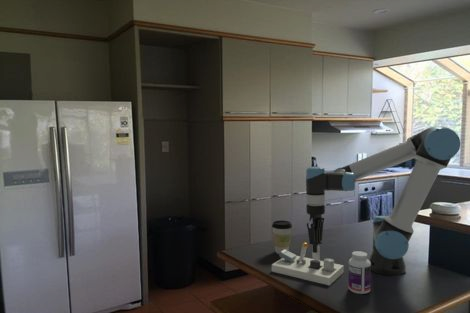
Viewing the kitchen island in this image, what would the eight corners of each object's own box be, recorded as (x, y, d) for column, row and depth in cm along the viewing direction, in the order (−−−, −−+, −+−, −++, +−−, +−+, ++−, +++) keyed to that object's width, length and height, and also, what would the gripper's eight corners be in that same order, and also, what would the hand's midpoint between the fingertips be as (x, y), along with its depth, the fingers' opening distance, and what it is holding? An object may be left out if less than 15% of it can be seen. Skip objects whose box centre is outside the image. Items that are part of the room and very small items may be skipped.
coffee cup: (291, 256, 183) (291, 225, 181) (271, 255, 185) (270, 224, 183) (292, 249, 192) (292, 220, 191) (273, 248, 194) (272, 219, 193)
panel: (343, 272, 162) (343, 261, 162) (329, 285, 149) (329, 274, 149) (289, 260, 177) (288, 250, 177) (271, 271, 164) (271, 261, 164)
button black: (321, 270, 162) (321, 261, 161) (317, 273, 158) (317, 264, 158) (312, 268, 164) (312, 259, 164) (308, 271, 161) (308, 262, 160)
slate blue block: (295, 259, 169) (296, 254, 168) (290, 262, 165) (291, 257, 165) (283, 253, 172) (284, 248, 171) (278, 256, 168) (280, 251, 168)
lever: (305, 263, 165) (309, 243, 168) (302, 262, 163) (307, 242, 166) (299, 262, 166) (303, 242, 169) (297, 260, 164) (301, 241, 167)
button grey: (335, 269, 158) (335, 259, 158) (331, 272, 155) (331, 262, 154) (325, 267, 160) (325, 257, 160) (321, 270, 157) (322, 260, 157)
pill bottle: (365, 285, 149) (366, 249, 147) (374, 294, 141) (374, 256, 139) (345, 286, 148) (345, 250, 147) (352, 295, 140) (352, 257, 139)
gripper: (313, 200, 166) (314, 253, 168) (300, 206, 156) (301, 262, 157) (330, 202, 162) (330, 256, 164) (317, 208, 151) (318, 265, 153)
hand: (316, 259), depth 161 cm, fingers closed
